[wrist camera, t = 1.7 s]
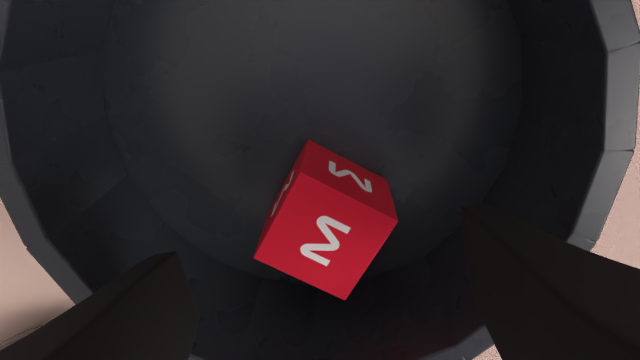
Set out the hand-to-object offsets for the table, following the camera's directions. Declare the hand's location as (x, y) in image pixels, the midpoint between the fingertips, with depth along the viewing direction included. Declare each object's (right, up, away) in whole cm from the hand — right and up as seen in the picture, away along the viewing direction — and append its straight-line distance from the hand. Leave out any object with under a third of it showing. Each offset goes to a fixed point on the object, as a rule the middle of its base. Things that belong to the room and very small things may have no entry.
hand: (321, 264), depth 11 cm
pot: (0, +4, +3) cm, 5 cm away
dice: (0, +2, +4) cm, 5 cm away
